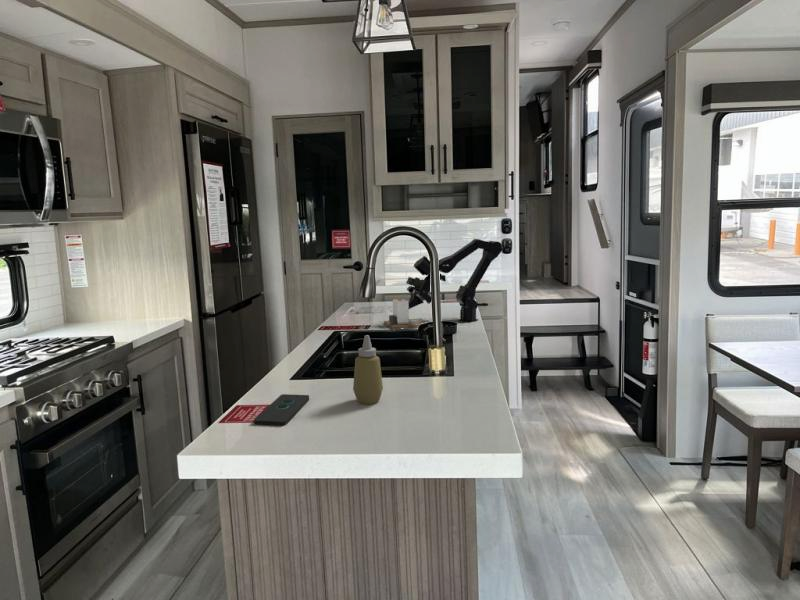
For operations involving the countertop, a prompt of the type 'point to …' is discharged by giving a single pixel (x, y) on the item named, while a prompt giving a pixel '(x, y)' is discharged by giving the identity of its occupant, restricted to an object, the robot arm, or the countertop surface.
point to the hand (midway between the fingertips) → (406, 308)
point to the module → (401, 310)
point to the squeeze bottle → (367, 374)
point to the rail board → (412, 324)
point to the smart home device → (281, 410)
